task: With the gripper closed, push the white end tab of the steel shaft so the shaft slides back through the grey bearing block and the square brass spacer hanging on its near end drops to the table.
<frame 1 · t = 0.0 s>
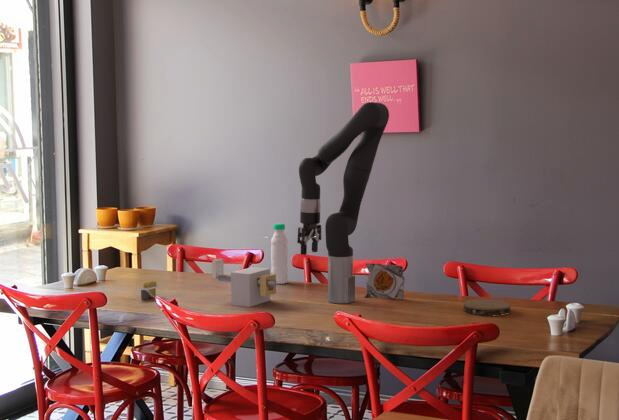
hand: (309, 253, 308), 17 cm above the table, tool pointing down, fingers open, 8 cm apart
water bottle: (279, 283, 342), on the table
dark brown disc: (486, 312, 285), on the table
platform: (149, 300, 309), on the table
bearing block: (250, 302, 301), on the table
meal: (384, 299, 308), on the table
spacer: (268, 294, 297), point 4 cm above the table, touching shaft
shaft: (245, 272, 301), point 11 cm above the table, slide at 0.0 cm, touching spacer
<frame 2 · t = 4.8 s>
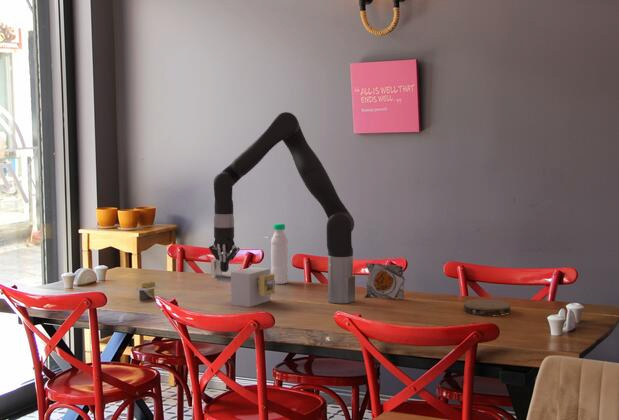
hand: (224, 271, 306), 11 cm above the table, tool pointing down, fingers closed
shaft: (243, 272, 302), point 11 cm above the table, slide at 0.6 cm, touching gripper, spacer
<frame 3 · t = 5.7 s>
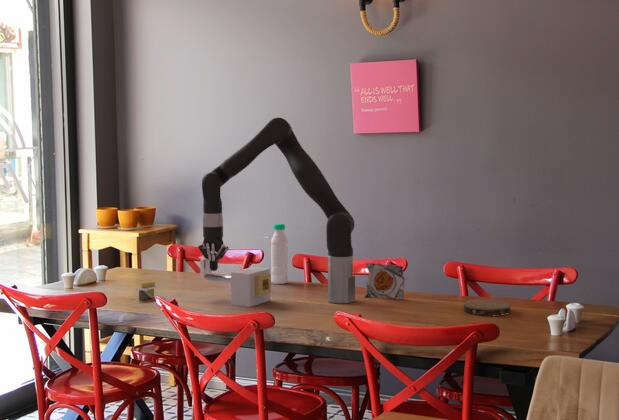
hand: (213, 270, 308), 11 cm above the table, tool pointing down, fingers closed
spacer: (262, 293, 298), point 4 cm above the table, touching shaft
shaft: (232, 271, 304), point 11 cm above the table, slide at 5.6 cm, touching gripper, spacer
everything else where it was.
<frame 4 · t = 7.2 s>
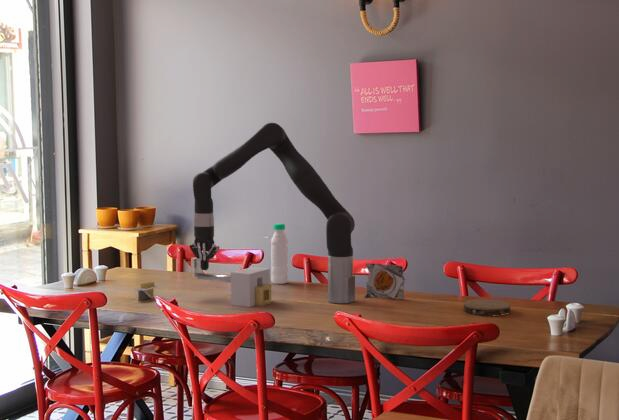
hand: (204, 269, 310), 11 cm above the table, tool pointing down, fingers closed
spacer: (263, 304, 298), on the table
shaft: (223, 270, 306), point 11 cm above the table, slide at 9.9 cm, touching gripper
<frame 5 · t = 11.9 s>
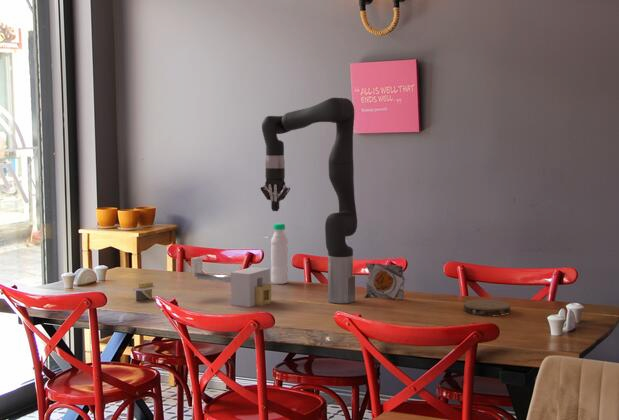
hand: (275, 210, 321), 32 cm above the table, tool pointing down, fingers closed
shaft: (223, 270, 306), point 11 cm above the table, slide at 9.9 cm
at the end: shaft slide at 9.9 cm; spacer on the table; spacer touching table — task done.
